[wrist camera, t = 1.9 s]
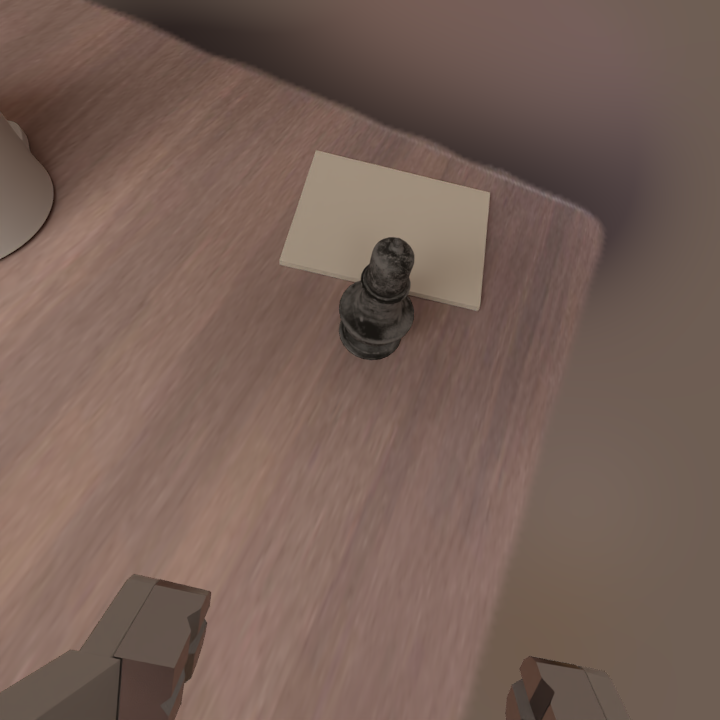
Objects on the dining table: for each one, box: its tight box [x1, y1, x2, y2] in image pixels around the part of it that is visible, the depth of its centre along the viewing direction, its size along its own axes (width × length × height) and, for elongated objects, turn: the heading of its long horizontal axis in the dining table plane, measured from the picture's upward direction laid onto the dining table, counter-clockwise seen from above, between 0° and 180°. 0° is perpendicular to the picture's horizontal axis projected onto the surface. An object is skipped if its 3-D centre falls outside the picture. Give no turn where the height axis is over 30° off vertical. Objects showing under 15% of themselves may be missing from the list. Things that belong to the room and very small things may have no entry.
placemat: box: [279, 150, 490, 311], centre depth 44 cm, size 18×14×1 cm
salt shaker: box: [339, 237, 414, 360], centre depth 34 cm, size 6×6×12 cm
